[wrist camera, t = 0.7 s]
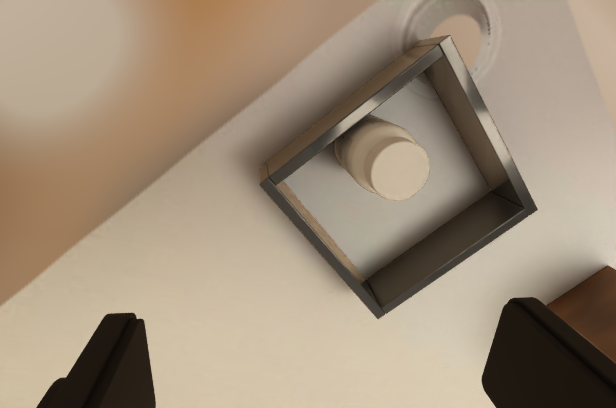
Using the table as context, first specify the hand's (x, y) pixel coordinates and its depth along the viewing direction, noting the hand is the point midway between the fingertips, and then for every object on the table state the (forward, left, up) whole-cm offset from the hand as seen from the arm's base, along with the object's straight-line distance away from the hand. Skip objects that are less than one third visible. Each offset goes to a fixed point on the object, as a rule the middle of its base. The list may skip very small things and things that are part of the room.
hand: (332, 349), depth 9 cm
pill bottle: (-4, +4, -19) cm, 20 cm away
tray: (-3, +8, -19) cm, 20 cm away
